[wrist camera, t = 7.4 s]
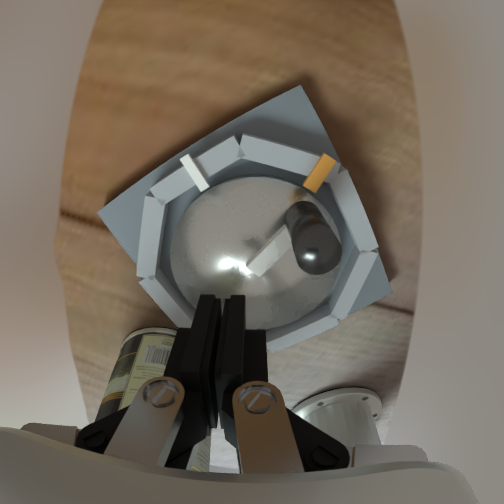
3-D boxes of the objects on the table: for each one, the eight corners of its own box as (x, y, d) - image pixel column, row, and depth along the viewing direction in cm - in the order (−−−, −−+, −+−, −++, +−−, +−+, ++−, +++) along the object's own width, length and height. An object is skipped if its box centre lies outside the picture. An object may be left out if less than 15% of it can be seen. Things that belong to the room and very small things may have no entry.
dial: (261, 342, 26) (264, 397, 21) (143, 263, 22) (116, 313, 17) (368, 249, 22) (400, 296, 16) (248, 136, 18) (248, 150, 13)
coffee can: (146, 393, 32) (122, 498, 19) (105, 331, 27) (53, 450, 15) (229, 388, 31) (225, 507, 19) (200, 319, 26) (178, 467, 14)
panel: (387, 284, 25) (399, 304, 22) (226, 357, 29) (225, 380, 26) (297, 86, 18) (305, 83, 15) (103, 207, 21) (87, 221, 19)
